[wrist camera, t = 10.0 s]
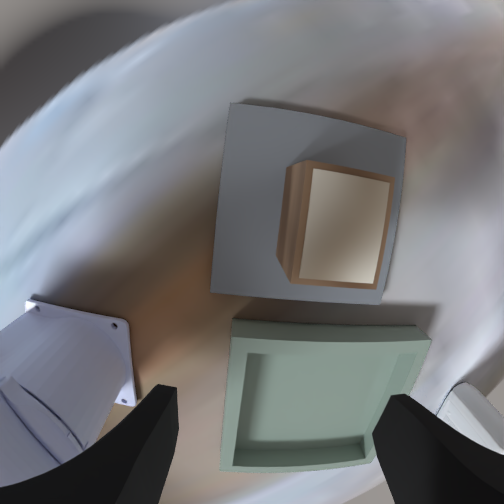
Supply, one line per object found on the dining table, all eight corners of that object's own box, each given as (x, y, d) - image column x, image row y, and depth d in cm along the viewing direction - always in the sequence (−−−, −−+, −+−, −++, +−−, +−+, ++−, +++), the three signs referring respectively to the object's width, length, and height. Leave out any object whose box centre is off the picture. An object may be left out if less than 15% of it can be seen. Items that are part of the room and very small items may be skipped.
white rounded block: (438, 442, 24) (481, 507, 12) (412, 450, 24) (453, 523, 12) (474, 377, 22) (538, 442, 10) (448, 384, 22) (515, 461, 10)
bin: (220, 450, 22) (219, 471, 19) (232, 318, 19) (232, 336, 16) (363, 445, 23) (370, 462, 20) (415, 325, 20) (431, 339, 17)
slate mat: (211, 286, 18) (210, 292, 17) (230, 107, 16) (230, 102, 15) (373, 299, 19) (379, 304, 18) (398, 139, 16) (406, 138, 15)
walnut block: (275, 255, 17) (290, 284, 12) (286, 167, 16) (307, 159, 11) (340, 261, 17) (377, 290, 12) (352, 178, 16) (396, 177, 11)
